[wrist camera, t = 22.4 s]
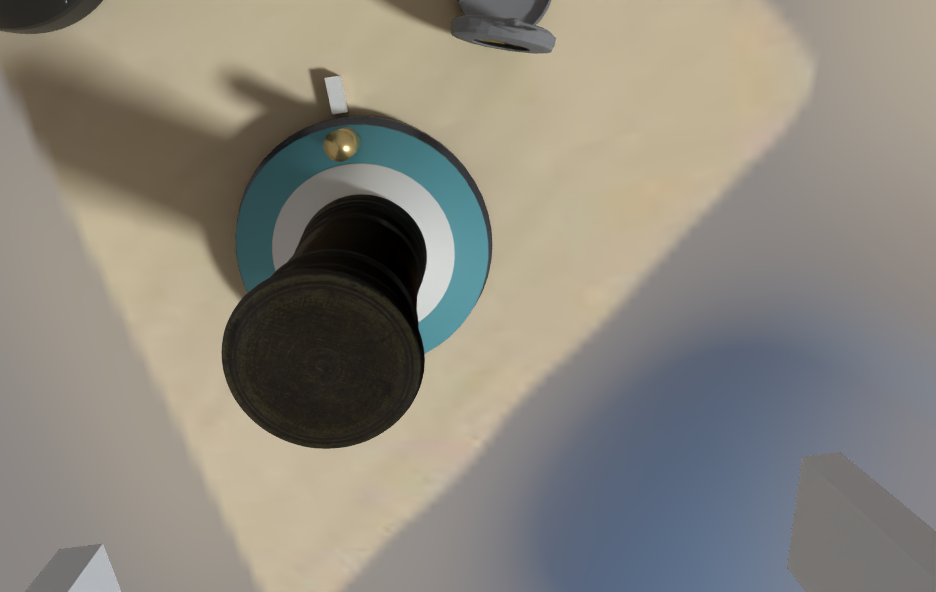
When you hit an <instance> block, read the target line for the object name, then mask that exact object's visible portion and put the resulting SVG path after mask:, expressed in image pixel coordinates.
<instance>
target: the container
mask: <svg viewBox="0 0 936 592" xmlns="http://www.w3.org/2000/svg"><path fill="white" fill-rule="evenodd" d="M426 264H427V250H426V244H425V240H424V237H423V235H422V232H421V230H420V228H419V227H418V225H417V223H416V222H415V221H414V219H413V218H412V217H411V216H410V215H409V214H408V213H407V212H406V211H405V210H404V209H403V208H401V207H400V206H398V205H397V204H395V203H394V202H392V201H390V200H387V199H385V198H382V197H378V196H374V195H365V194H358V195H349V196H345V197H342V198H339V199H336V200H334V201H332V202H330V203H328V204H327V205H325V206H324V207H322V208H321V209H320V210H319V211H318V212H317V213H316V214H315V215H314V216H313V217H312V219H311V220H310V221H309V223H308V224H307V226H306V228H305V230H304V232H303V235H302V237H301V239H300V241H299V244H298V246H297V248H296V250H295V252H294V255H293V256H292V257H291V258H290V259H289V260H288V262H287V263H285V264H284V265H282V266H281V267H280V268H279V269H277V270H276V271H275V272H274V273H273V274H272V276H271V277H270V278H268V279H266V280H265V281H263V282H261V283H260V284H258V285H257V286H256V287H254V288H253V289H252V290H251V291H249V292H248V293H247V294H246V295H245V296H244V297H243V298H242V300H241V301H240V302H239V303H238V305H237V306H236V308H235V309H234V311H233V312H232V314H231V316H230V318H229V320H228V323H227V325H226V328H225V332H224V336H223V342H222V364H223V370H224V374H225V378H226V381H227V384H228V386H229V388H230V391H231V393H232V395H233V396H234V398H235V400H236V401H237V403H238V404H239V406H240V407H241V408H242V410H243V411H244V412H245V413H246V414H247V415H248V416H249V417H250V418H251V419H252V420H253V421H254V422H255V423H256V424H258V425H259V426H260V427H262V428H263V429H264V430H266V431H267V432H269V433H271V434H273V435H274V436H276V437H278V438H280V439H283V440H285V441H288V442H290V443H293V444H297V445H301V446H305V447H311V448H323V449H329V448H341V447H348V446H352V445H356V444H359V443H362V442H365V441H368V440H370V439H372V438H374V437H376V436H378V435H379V434H381V433H383V432H384V431H386V430H387V429H388V428H390V427H391V426H392V425H394V424H395V423H396V422H397V421H398V420H399V419H400V418H401V417H402V416H403V415H404V414H405V412H406V411H407V410H408V409H409V407H410V406H411V404H412V402H413V401H414V399H415V397H416V395H417V393H418V391H419V388H420V385H421V382H422V378H423V373H424V362H425V358H424V347H423V341H422V338H421V334H420V331H419V329H418V328H419V323H418V315H417V295H418V292H419V288H420V286H421V284H422V281H423V277H424V274H425V270H426Z"/></svg>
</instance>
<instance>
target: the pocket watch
mask: <svg viewBox="0 0 936 592" xmlns="http://www.w3.org/2000/svg"><path fill="white" fill-rule="evenodd" d="M458 1H459V5H460V7H461V9H462V11H463V13H464V14H465V15H462V16H459V17H456V19H452V21H451V34H452V35H453V36H454V37H456V38H458V39H461V40H464V41H467V42H470V43H473V44H477V45H481V46H485V47H491V48H496V49H502V50H507V51H515V52H525V53H550V52H551V51H552V49H553V47H554V45H555V41H556V38H555V37H554V36H553V35H552V34H551V33H550V32H549V31H548V30H546V29H544V28H542V27H539V26H536V24H537V23H538V22H539V21H540V20H541V19H542V17H543V16H544V14H545V13H546V11H547V10H548V8H549V5H550V2H551V0H458Z"/></svg>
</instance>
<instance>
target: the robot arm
mask: <svg viewBox="0 0 936 592" xmlns="http://www.w3.org/2000/svg"><path fill="white" fill-rule="evenodd" d="M102 1H103V0H0V31H5V32H11V33H21V34H37V33H45V32H51V31H55V30H59V29H62V28H65V27H67V26H70V25H72V24H74V23H76V22H78V21H79V20H81V19H83V18H84V17H86V16H87V15H88V14H90V13H91V12H92V11H93V10H94V9H95V8H96V7H97V6H98V5H99V4H100V3H101V2H102ZM787 569H788V570H789V571H790V572H791V574H792V575H793V576H794V578H795V579H796V580H797V582H798V583H799V584H800V585H801V587H802V588H803V589H804V590H805V592H936V531H935V530H934V529H932V528H931V527H930V526H929V525H927V524H926V523H925V522H924V521H923V520H921V519H920V518H919V517H918V516H916V514H914V513H913V512H912V511H911V510H910V509H908V508H907V507H906V506H904V504H902V503H901V502H900V501H899V500H898V499H896V498H895V497H894V496H893V495H892V494H890V493H889V492H888V491H887V490H886V489H884V488H883V487H882V486H881V485H879V484H878V483H877V482H876V481H875V480H874V479H872V478H871V477H870V476H869V475H868V474H866V473H865V472H864V471H863V470H861V469H860V468H859V467H858V466H857V465H855V464H854V463H853V462H852V461H851V460H849V459H848V458H847V457H846V456H845V455H843V454H842V453H841V452H837V453H830V454H821V455H813V456H805V457H802V462H801V469H800V476H799V484H798V492H797V498H796V506H795V513H794V521H793V528H792V536H791V543H790V550H789V558H788V565H787ZM25 592H121V590H120V588H119V585H118V582H117V580H116V577H115V574H114V572H113V569H112V567H111V564H110V561H109V559H108V557H107V554H106V551H105V549H104V546H103V544H97V545H88V546H81V547H72V548H65V549H59V550H58V551H57V553H56V554H55V555H54V556H53V558H52V559H51V560H50V561H49V562H48V564H47V565H46V566H45V567H44V569H43V570H42V571H41V572H40V574H39V575H38V576H37V577H36V578H35V580H34V581H33V582H32V583H31V585H30V586H29V587H28V588H27V590H26V591H25Z"/></svg>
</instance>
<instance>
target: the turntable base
mask: <svg viewBox="0 0 936 592" xmlns="http://www.w3.org/2000/svg"><path fill="white" fill-rule="evenodd" d="M324 79H325V83H326V88H327V93H328V97H329V102H330V107H331V111H332V114H338V113H345V112H348V107H347V102H346V97H345V93H344V88H343V83H342V78H341V76H334V77H327V78H324ZM357 124H367V125H376V126H383V127H387V128H391V129H395V130H399V131H402V132H404V133H407V134H409V135H412V136H414V137H416V138H418V139H420V140H422V141H423V142H425V143H427V144H429V145H430V146H432V147H433V148H434V149H436V150H437V151H438V152H440V153H441V154H442V155H444V156H445V157H446V158H447V159H448V160H449V161H450V162H451V163H452V164H453V165H454V166H455V167H456V168H457V170H458V171H459V172H460V174H461V175H462V176H463V177H464V179H465V180H466V182H467V183H468V185H469V187H470V188H471V190H472V192H473V193H474V195H475V197H476V199H477V202H478V204H479V206H480V209H481V211H482V214H483V218H484V221H485V225H486V230H487V237H488V265H487V272H486V277H485V280H484V284H483V288H482V290H481V293H482V291H483V289H484V286H485V283H486V280H487V277H488V273H489V269H490V264H491V256H492V232H491V225H490V220H489V215H488V211H487V208H486V205H485V203H484V200H483V197H482V195H481V193H480V191H479V189H478V187H477V185H476V183H475V181H474V180H473V178H472V177H471V175H470V174H469V172H468V171H467V170H466V168H465V167H464V165H463V164H462V163H461V162H460V161H459V160H458V159H457V157H456V156H455V155H454V154H453V153H452V152H451V151H449V150H448V149H447V148H446V147H445V146H444V145H443V144H441V143H440V142H439V141H437V140H436V139H434V138H433V137H431V136H430V135H428V134H427V133H425V132H423V131H421V130H419V129H417V128H415V127H412V126H410V125H407V124H404V123H401V122H398V121H395V120H391V119H386V118H381V117H371V116H352V117H341V118H337V119H332V120H328V121H324V122H320V123H318V124H315V125H312V126H310V127H307V128H305V129H303V130H301V131H299V132H297V133H296V134H294V135H292V136H290V137H289V138H287V139H286V140H285V141H283V142H282V143H281V144H279V145H278V146H277V147H276V148H275V149H274V150H273V151H272V152H271V153H270V154H269V155H268V156H267V157H266V158H265V159H264V160H263V161H262V163H261V164H260V165H259V167H258V168H257V170H256V171H255V172H254V174H253V176H252V178H251V180H250V181H249V183H248V185H247V187H246V190H245V192H244V195H243V198H242V201H241V204H240V209H239V214H240V210H241V206H242V203H243V201H244V198H245V196H246V194H247V191H248V189H249V187H250V186H251V184H252V182H253V181H254V179H255V178H256V176H257V174H258V173H259V172H260V171H261V170H262V168H263V167H264V166H265V165H266V164H267V163H268V161H270V160H271V159H272V158H273V157H274V156H275V155H276V154H277V153H279V152H280V151H281V150H282V149H284V148H285V147H287V146H288V145H290V144H292V143H293V142H295V141H296V140H298V139H301V138H303V137H305V136H307V135H309V134H311V133H314V132H318V131H321V130H324V129H328V128H331V127H337V126H343V125H357ZM239 214H238V217H239ZM237 223H238V219H237ZM481 293H480V295H481ZM480 295H479V297H480ZM479 297H478V299H479ZM477 301H478V300H477ZM476 303H477V302H476ZM475 305H476V304H475ZM475 305H474V306H475Z"/></svg>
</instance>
